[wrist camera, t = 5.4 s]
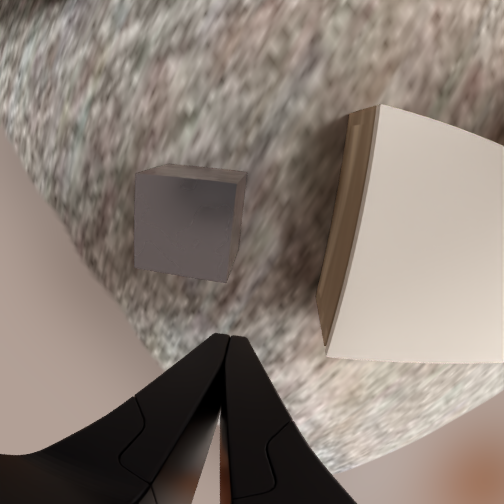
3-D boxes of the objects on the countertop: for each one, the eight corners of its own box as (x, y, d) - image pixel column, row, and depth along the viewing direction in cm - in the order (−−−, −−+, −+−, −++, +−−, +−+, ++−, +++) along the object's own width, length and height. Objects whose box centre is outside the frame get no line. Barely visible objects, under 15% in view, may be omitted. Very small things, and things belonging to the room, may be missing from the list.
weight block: (247, 171, 19) (236, 183, 15) (238, 249, 21) (226, 282, 16) (168, 163, 19) (135, 173, 15) (164, 238, 21) (134, 267, 17)
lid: (571, 182, 11) (577, 184, 11) (513, 356, 15) (517, 361, 15) (376, 105, 12) (380, 104, 11) (325, 350, 16) (326, 357, 15)
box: (519, 168, 17) (569, 182, 12) (477, 314, 21) (511, 353, 16) (349, 113, 17) (375, 105, 12) (315, 296, 22) (324, 345, 16)
